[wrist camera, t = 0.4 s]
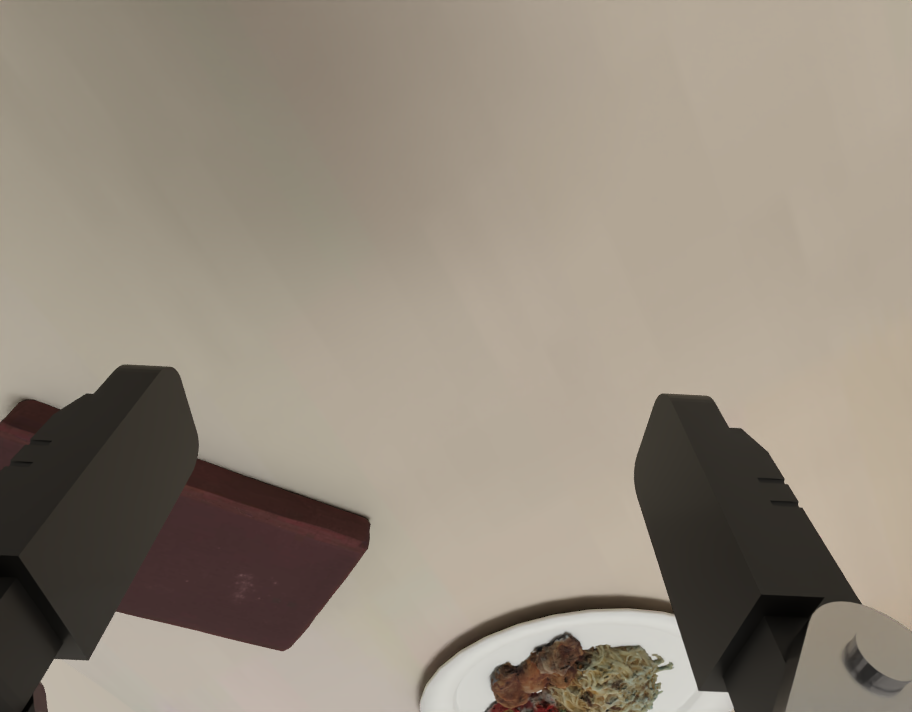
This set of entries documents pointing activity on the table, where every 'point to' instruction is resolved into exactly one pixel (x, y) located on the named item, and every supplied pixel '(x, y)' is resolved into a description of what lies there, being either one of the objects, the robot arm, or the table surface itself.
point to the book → (231, 551)
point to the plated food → (575, 668)
